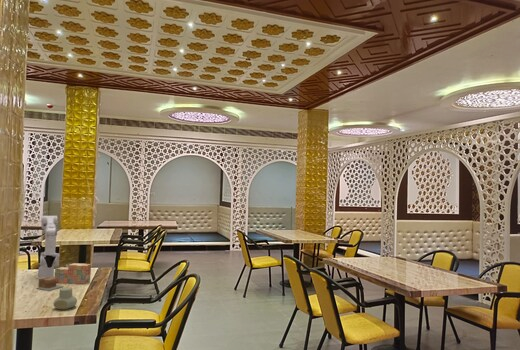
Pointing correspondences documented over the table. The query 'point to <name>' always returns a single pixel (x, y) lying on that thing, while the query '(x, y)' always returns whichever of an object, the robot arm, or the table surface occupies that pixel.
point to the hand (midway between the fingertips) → (49, 267)
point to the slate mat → (50, 288)
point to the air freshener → (65, 299)
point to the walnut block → (47, 282)
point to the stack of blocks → (73, 274)
